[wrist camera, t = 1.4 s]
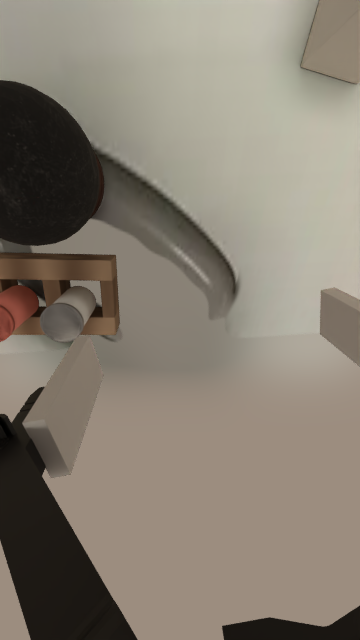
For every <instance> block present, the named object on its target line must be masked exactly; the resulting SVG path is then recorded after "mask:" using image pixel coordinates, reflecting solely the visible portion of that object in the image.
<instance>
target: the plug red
mask: <svg viewBox="0 0 360 640" xmlns="http://www.w3.org/2000/svg"><path fill="white" fill-rule="evenodd" d="M38 307H39V300H38V297H37V295H36V294H35V293H34V292H33V291H32V290H31V289H30V288H28V287H26V286H22V285H15V286H12V287H10V288H8V289H7V290H5V291H3V292H1V293H0V342H1V341H4V340H5V339H7V338H8V337H9V336H10V335H11V334H12V333H13V331H14V330H16V329H17V328H18V327H19V326H20V325H21V324H22V323H23V322H25V321H26V320H27V319H28V318H29V317H30V316H31V315H33V314H34V313H35V312H36V311H37V309H38Z"/></svg>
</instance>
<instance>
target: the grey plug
mask: <svg viewBox="0 0 360 640" xmlns="http://www.w3.org/2000/svg"><path fill="white" fill-rule="evenodd" d="M95 307H96V299H95V296H94V295H93V293H92V292H91V291H90V290H88V289H87V288H84V287H82V286H74V287H71V288H69V289H68V290H67V291H66V292H65V293H64V294H62V295H61V296H60V297H59V298H58V299H57V300H56V301H55V302H54V303H53V304H52V305H50V306H48V307H47V308H46V309H45V310H44V311H43V312H42V314H41V317H40V326H41V328H42V330H43V332H44V333H45V334H46V335H47V336H48V337H49V338H51V339H52V340H55V341H58V342H70V341H73V340H75V338H76V337H78V336H79V335H80V334H81V332H82V330H83V328H84V325H85V324H86V322H87V321H88V319H89V317H90V316H91V314H92V312H93V311H94V309H95Z"/></svg>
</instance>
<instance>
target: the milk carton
mask: <svg viewBox="0 0 360 640" xmlns="http://www.w3.org/2000/svg"><path fill="white" fill-rule="evenodd" d="M301 67H303V68H305V69H309V70H312V71H315V72H318V73H322V74H325V75H328V76H331V77H335V78H338V79H341V80H345V81H348V82H351V83H355V84H357V83H359V82H360V0H320V1H319V4H318V8H317V11H316V15H315V18H314V22H313V25H312V28H311V32H310V35H309V39H308V42H307V46H306V49H305V53H304V56H303V60H302V63H301Z"/></svg>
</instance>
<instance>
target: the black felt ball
mask: <svg viewBox="0 0 360 640" xmlns="http://www.w3.org/2000/svg"><path fill="white" fill-rule="evenodd" d="M103 193H104V176H103V172H102V167H101V165H100V162H99V160H98V158H97V156H96V154H95V153H94V151H93V149H92V146H91V144H90V142H89V140H88V138H87V137H86V135H85V133H84V132H83V130H82V129H81V127H80V125H79V124H78V123H77V121H76V120H75V119H74V118H73V117H72V116H71V115H70V113H69V112H68V111H67V110H66V109H65V108H63V107H62V106H61V105H60V104H58V103H57V102H56V101H55V100H54V99H52V98H50V97H49V96H47V95H45V94H43V93H42V92H40V91H38V90H36V89H34V88H33V87H30V86H27V85H24V84H21V83H18V82H14V81H3V80H0V238H2V239H4V240H7V241H9V242H13V243H18V244H22V245H35V246H39V245H47V244H53V243H57V242H60V241H62V240H65V239H67V238H69V237H70V236H72V235H73V234H75V233H76V232H78V231H79V230H80V229H81V228H82V227H83V226H84V225H85V224H86V222H87V221H88V220H89V219H90V218H91V217H92V216H93V215H94V214H95V213H96V211H97V209H98V208H99V206H100V204H101V201H102V198H103Z"/></svg>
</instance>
